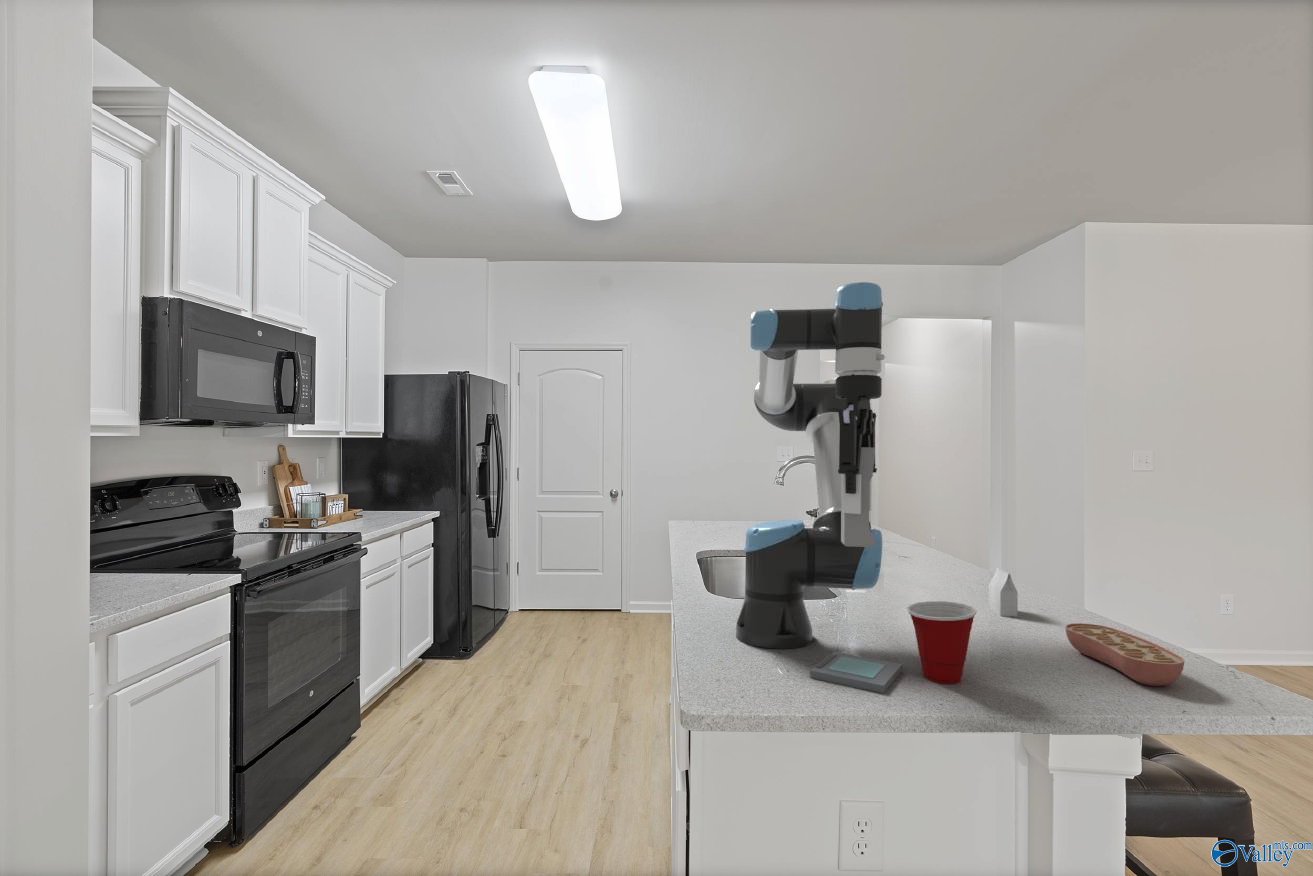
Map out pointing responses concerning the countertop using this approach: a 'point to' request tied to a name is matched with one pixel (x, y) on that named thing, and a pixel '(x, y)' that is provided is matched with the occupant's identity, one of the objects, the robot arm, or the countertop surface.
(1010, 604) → the white house shaped block
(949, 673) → the plastic cup
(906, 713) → the countertop surface
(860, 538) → the vintage mobile phone
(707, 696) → the countertop surface
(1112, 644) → the anatomical model
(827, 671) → the pad
